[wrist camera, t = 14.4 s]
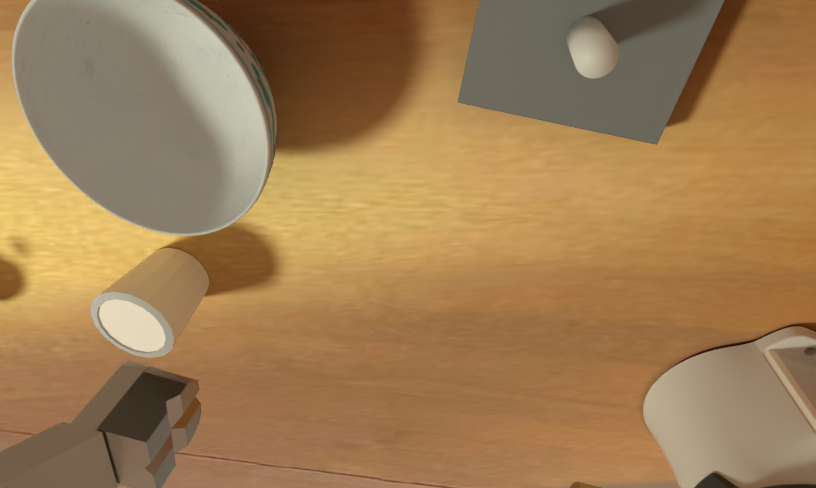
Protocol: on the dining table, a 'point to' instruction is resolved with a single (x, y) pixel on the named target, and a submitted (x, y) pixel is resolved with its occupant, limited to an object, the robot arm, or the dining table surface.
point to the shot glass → (151, 303)
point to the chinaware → (148, 108)
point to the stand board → (553, 78)
